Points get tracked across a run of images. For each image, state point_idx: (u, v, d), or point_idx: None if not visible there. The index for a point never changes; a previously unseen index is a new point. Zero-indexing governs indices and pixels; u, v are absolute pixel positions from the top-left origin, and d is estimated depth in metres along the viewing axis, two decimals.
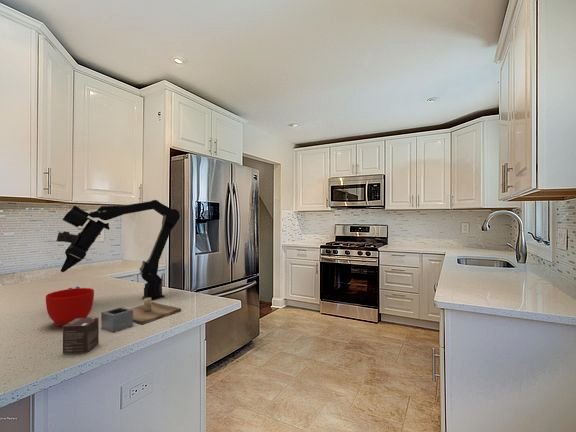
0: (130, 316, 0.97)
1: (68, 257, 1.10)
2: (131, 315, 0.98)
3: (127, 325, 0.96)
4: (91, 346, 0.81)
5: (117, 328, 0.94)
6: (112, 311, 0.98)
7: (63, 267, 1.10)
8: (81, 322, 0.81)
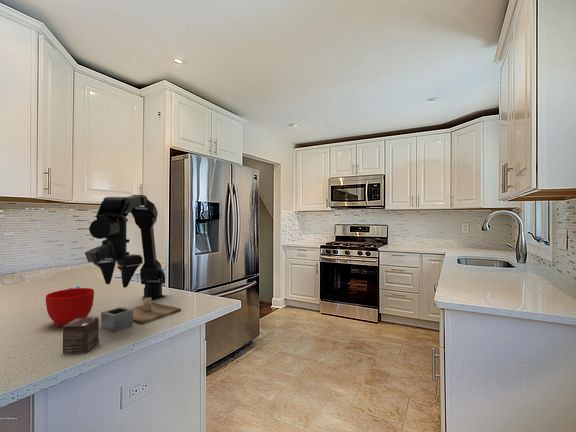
0: (130, 316, 0.97)
1: (125, 270, 0.93)
2: (131, 315, 0.98)
3: (127, 325, 0.96)
4: (91, 346, 0.81)
5: (117, 328, 0.94)
6: (112, 311, 0.98)
7: (125, 282, 0.94)
8: (81, 322, 0.81)
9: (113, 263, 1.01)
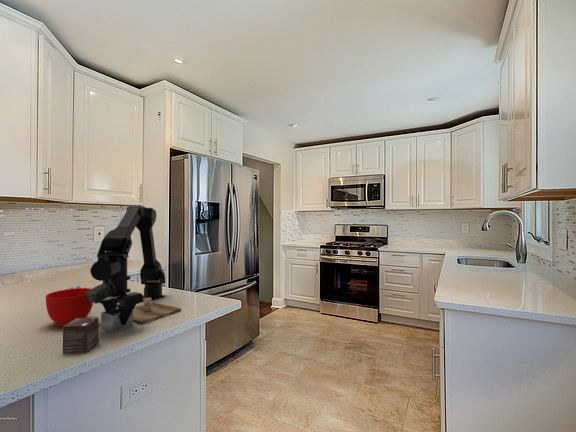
0: (130, 316, 0.97)
1: (123, 308, 0.93)
2: (131, 315, 0.98)
3: (127, 325, 0.96)
4: (91, 346, 0.81)
5: (117, 328, 0.94)
6: (112, 311, 0.98)
7: (123, 320, 0.95)
8: (81, 322, 0.81)
9: (116, 299, 1.01)
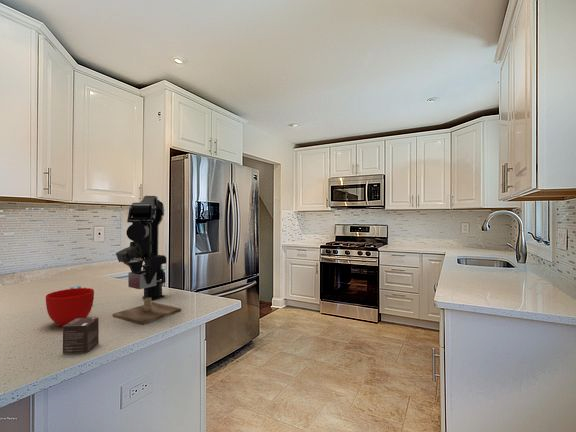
0: (154, 277, 1.08)
1: (149, 269, 1.04)
2: (154, 276, 1.08)
3: (151, 284, 1.07)
4: (91, 346, 0.81)
5: (143, 286, 1.04)
6: (138, 272, 1.08)
7: (148, 279, 1.05)
8: (81, 322, 0.81)
9: (141, 262, 1.11)
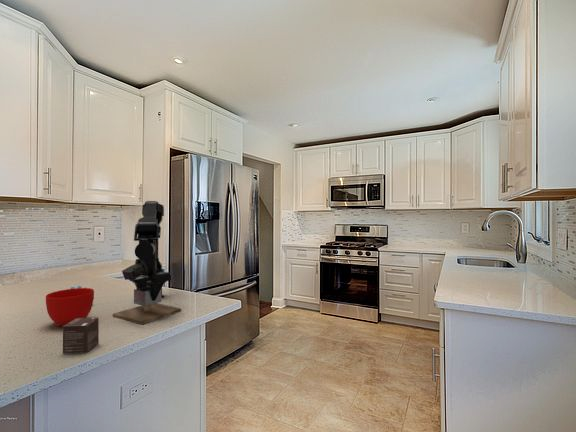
0: (159, 293, 1.10)
1: (154, 286, 1.06)
2: (159, 292, 1.10)
3: (156, 301, 1.09)
4: (91, 346, 0.81)
5: (148, 303, 1.07)
6: (143, 289, 1.11)
7: (154, 296, 1.07)
8: (81, 322, 0.81)
9: (146, 279, 1.13)
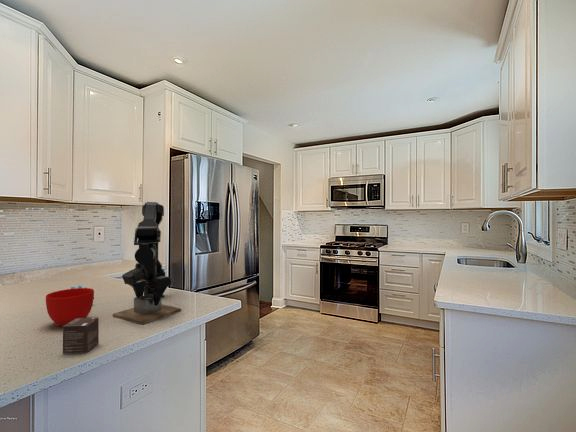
0: (159, 301, 1.10)
1: (156, 290, 1.06)
2: None
3: (156, 309, 1.09)
4: (91, 346, 0.81)
5: (148, 311, 1.06)
6: (143, 297, 1.11)
7: (156, 301, 1.07)
8: (81, 322, 0.81)
9: (143, 282, 1.14)
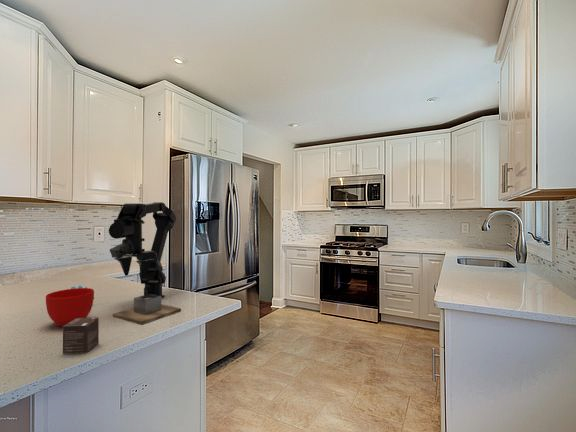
0: (159, 301, 1.10)
1: (142, 264, 1.13)
2: (159, 300, 1.10)
3: (156, 309, 1.09)
4: (91, 346, 0.81)
5: (148, 311, 1.06)
6: (143, 297, 1.11)
7: (142, 273, 1.15)
8: (81, 322, 0.81)
9: (130, 258, 1.21)
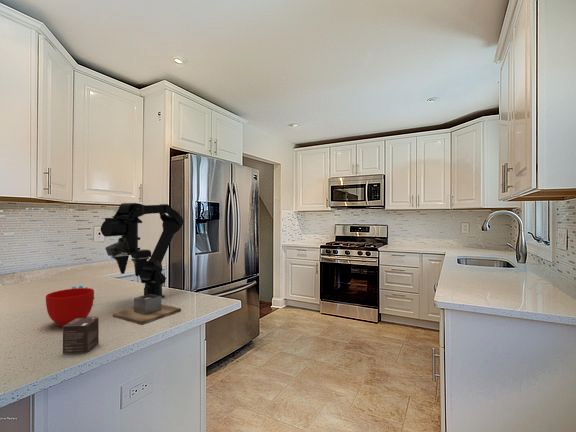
0: (159, 301, 1.10)
1: (137, 262, 1.16)
2: (159, 300, 1.10)
3: (156, 309, 1.09)
4: (91, 346, 0.81)
5: (148, 311, 1.06)
6: (143, 297, 1.11)
7: (137, 272, 1.17)
8: (81, 322, 0.81)
9: (126, 257, 1.24)
